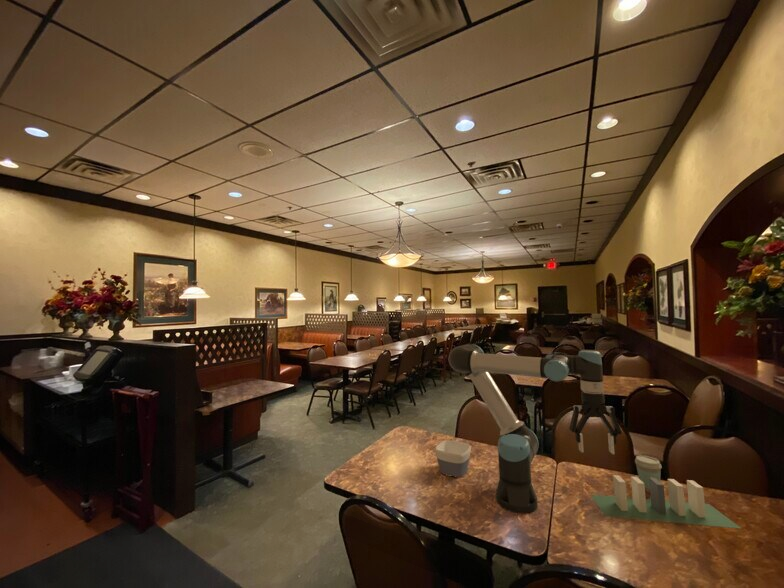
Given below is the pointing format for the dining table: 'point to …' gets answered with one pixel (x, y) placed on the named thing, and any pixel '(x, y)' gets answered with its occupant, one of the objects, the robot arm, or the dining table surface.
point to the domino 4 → (696, 498)
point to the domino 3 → (676, 497)
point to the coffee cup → (648, 469)
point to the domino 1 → (620, 492)
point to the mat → (613, 510)
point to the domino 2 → (638, 494)
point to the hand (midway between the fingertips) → (596, 451)
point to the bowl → (453, 457)
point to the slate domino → (657, 495)
